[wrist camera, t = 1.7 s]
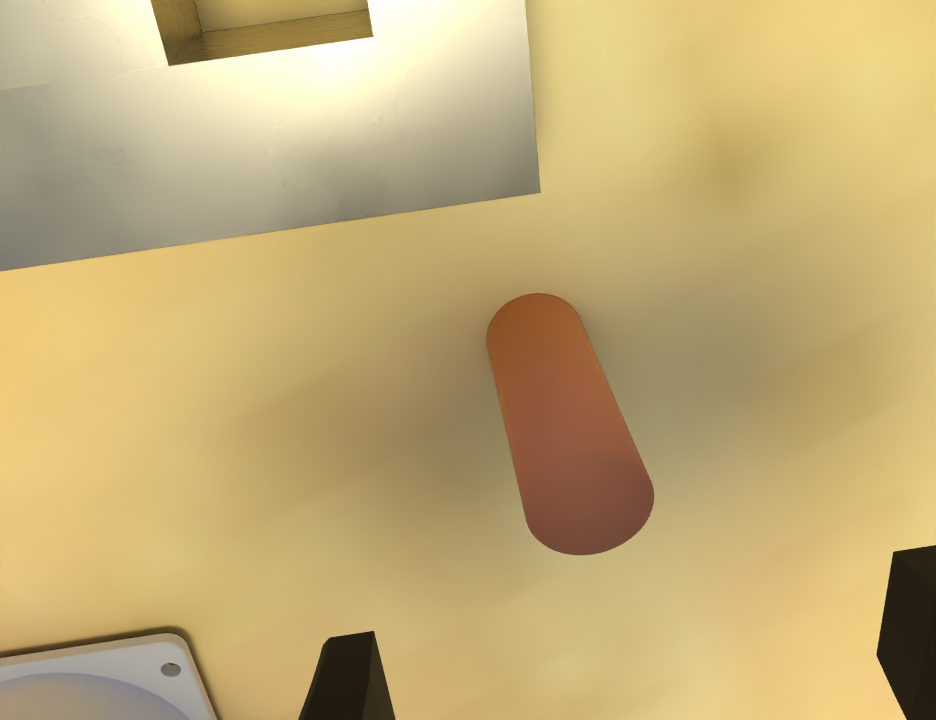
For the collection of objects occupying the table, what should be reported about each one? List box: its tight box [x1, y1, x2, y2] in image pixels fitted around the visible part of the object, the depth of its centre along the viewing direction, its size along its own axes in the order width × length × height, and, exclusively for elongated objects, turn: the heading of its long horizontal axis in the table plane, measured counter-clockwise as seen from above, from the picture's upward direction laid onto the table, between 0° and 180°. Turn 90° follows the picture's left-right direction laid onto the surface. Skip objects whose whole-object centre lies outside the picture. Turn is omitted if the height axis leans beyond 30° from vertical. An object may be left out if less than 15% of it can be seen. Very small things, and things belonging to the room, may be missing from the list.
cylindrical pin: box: [487, 294, 654, 555], centre depth 17 cm, size 2×2×6 cm
